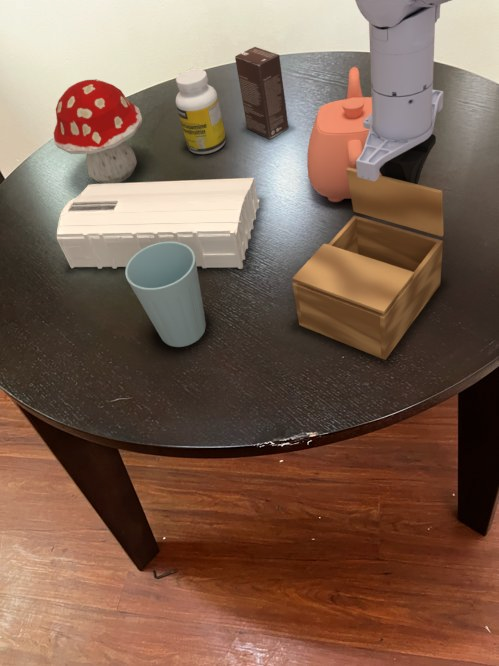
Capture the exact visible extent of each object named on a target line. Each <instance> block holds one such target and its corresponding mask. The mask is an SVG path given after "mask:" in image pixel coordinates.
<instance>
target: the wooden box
mask: <svg viewBox="0 0 499 666" xmlns="http://www.w3.org/2000/svg"><path fill="white" fill-rule="evenodd" d="M443 245H444V241H443V240H442V239H438V238H435V237H431V236H427V235H424V234H421V233H418V232H414V231H410V230H407V229H403V228H400V227H396V226H393V225H390V224H387V223H382V222H379V221H375V220H371V219H368V218H365V217H362V216H358V215H353V216H352V217H351V218H350V220H349V221H348V222H347V223H346V224H345V225H344V226H343V228H341V229H340V231H339V232H337V234H336V235H334V237H333V239H331V241H329V243H323V244H322V245H321V246H320V247H319V248H318V249H317V250H316V251H315V253H314V254H312V256H311V257H310V258H309V259H308V260H307V261H306V262H305V264H304V265H303V266H302V267H301V268H300V269H299V270H298V271H297V273H295V274H294V276H293V277H292V278H291V279H292V282H293V283H292V290H293V295H294V297H293V298H294V302H295V308H296V309H295V310H296V313H297V320H298V326H301V327H302V328H305V329H308V330H310V331H312V332H315V333H317V334H320V335H322V336H325V337H327V338H330V339H332V340H335V341H337V342H339V343H342V344H345V345H346V346H349V347H351V348H354V349H357V350H359V351H361V352H364V353H367V354H369V355H372V356H373V357H375V358H379V359H381V360H384V361H386V360H387V359H388V357H389V356H390V354H391V353H392V352H393V350H394V349H395V348H396V346H397V345H398V344H399V342H400V341H401V339H402V338H403V336H404V335H405V334H406V332H407V331H408V330H409V328H410V327H411V326H412V325H413V323H414V322H415V320H416V319H417V317H418V316H419V314H420V313H421V312H422V311H423V309H424V308H425V307H426V305H427V304H428V302H429V301H430V299H431V298H432V297H433V295H434V294H435V293H436V291H437V290H438V288H439V287H440V286H441V282H442V281H441V279H442V264H443V248H444V247H443Z"/></svg>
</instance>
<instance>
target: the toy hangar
mask: <svg viewBox="0 0 499 666" xmlns="http://www.w3.org/2000/svg"><path fill="white" fill-rule="evenodd" d="M259 203H260V198H259V197H258V193H257V188H256V183H255V177H242V178H241V177H240V178H239V177H237V178H216V179H215V178H213V179H212V178H211V179H191V180H190V179H189V180H188V179H187V180H166V181H165V180H163V181H140V182H139V181H138V182H118V183H112V184H101V183H91V184H88V185H87V186H86V187H85V188H84V189H83V190H82V192H81V193H79V195H78V196H76V197H74V198H72V199H70V200H68V201H67V202H66V203H65V204H64V207H63V208H62V210H61V212H60V214H59V216H58V217H59V218H58V223H57V229H56V240H57V243H58V245H59V247H60V249H61V250H62V253H63V254H64V256H65V259H66V261H67V263H68V265H69V267H70V269H74V268H97V269H98V270H100V269H101V270H102V269H103V268H112V269H117V268H126V266H127V264H128V262H129V261H130V259H131V258H132V257H133V256H134V255H135V254H136V253H137V252H139V251H140V250H142V249H144V248H145V247H148V246H150V245H153V244H156V243H160V242H170V241H171V242H179V243H182V244H185V245H187V246H188V247H190V248H191V249H192V251H193V252H194V254H195V259H196V266H197V267H201V268H202V269H207V268H210V269H212V268H218V269H219V268H221V269H223V268H237V269H239V270H243V269H244V263H243V261H244V260H246V252H247V250H248V249H249V242H250V240H251V239H252V234H251V232H252V230H254V227H255V225H254V221H256V220H257V210H260V204H259Z"/></svg>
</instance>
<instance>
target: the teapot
mask: <svg viewBox="0 0 499 666" xmlns="http://www.w3.org/2000/svg"><path fill="white" fill-rule="evenodd" d="M360 78H361V77H360V71H359V69H358V67H356V66H353V67H351V68H350V70H349V73H348V84H347V93H346V98H345V99H339V100H334V101H330V102H328V103H325V104H323V105H322V106H321V107H319V109H318V112H317V113H316V117H315V120H314V123H313V126H312V130H311V132H310V137H309V142H308V148H307V157H306V159H307V161H306V162H307V165H306V166H307V175H308V180H309V182H310V185H311V186H312V187H313V190H315V191H316V192H317V193H318V194H319V195H321V196H323V197H327V199H328V201H330V202H332V203H338V202H341V201H343V200H344V199H346V200H347V199H351V194H350V188H349V182H348V177H347V171H346V169H347V168H348V167H349V168H353V169H357V167H356V160H357V159H358V158H359V157H360V155H361V154H362V151H363V149H364V146H365V143H366V139H367V136H368V133H369V130H370V129H366V128H364V127H363V121H364V120H365V119H366V118H367V117H368V116H369V115H370V114H372V96H363V92H362V87H361V81H360V80H361V79H360ZM379 175H381V173H380V171H379ZM381 176H382V175H381ZM351 200H352V199H351Z"/></svg>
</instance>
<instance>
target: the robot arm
mask: <svg viewBox="0 0 499 666" xmlns="http://www.w3.org/2000/svg"><path fill="white" fill-rule="evenodd" d="M354 1H355V3H356V6H357V9H358V10H359V12H360V14H361V15H362V16H363V18H364V19H365V20H366V21H367V22H368V34H369V35H368V36H369V62H370V64H369V66H370V88H371V89H370V91H371V97H372V114H370V115H369V116H368V117H367V118H366V119H365V120H364V121H363V127H364V128H366V129H370V130H369V133H368V136H367V139H366V143H365V146H364V149H363V151H362V154H361V155H360V157H359V158H358V159H357V160H356V167H357V177H359V178H363V179H366V180H371V181H376V180H377V179H378V178H379V176H380V175H379V171H380V173H381V175H382V176H385V177H389V178H393V179H397V180H401V181H405V182H410V183H414V184H418V185H419V180H420V177H421V173H422V170H423V168H424V165H425V163H426V160H427V159H428V157H429V154H430V153H431V150H433V147H434V146H435V145H436V142H437V141H436V140H437V137H436V135H435V134H433V132H434V128H435V124H436V119H437V114H438V113H439V112H441V111H442V109H443V107H444V93H445V92H444V91H443V90H438V89H434V67H435V65H434V63H435V38H436V37H435V36H436V35H435V33H436V32H435V31H436V23H437V22H438V19H440V16H441V5H442V4H445V3H448V2H450V1H452V0H354Z"/></svg>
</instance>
